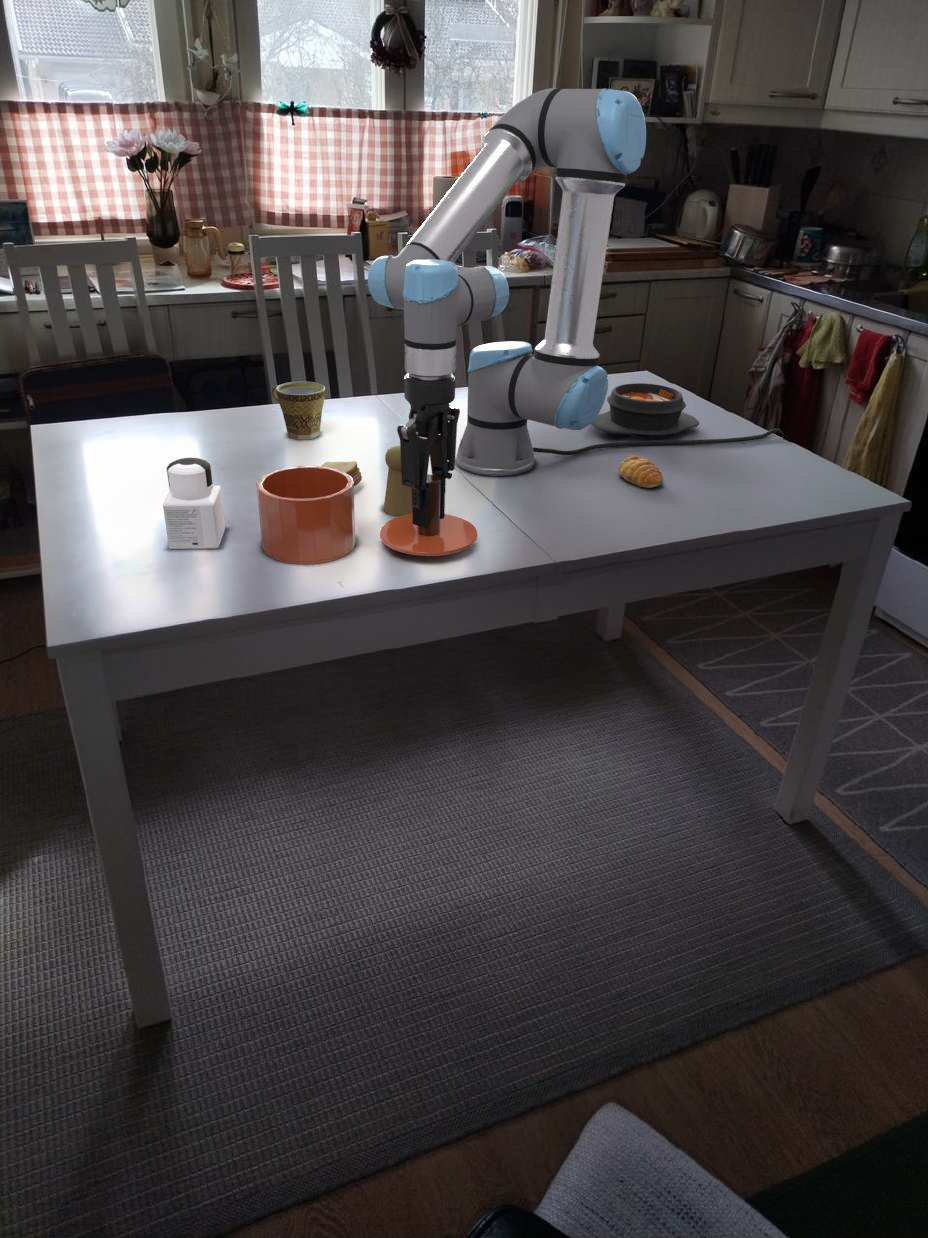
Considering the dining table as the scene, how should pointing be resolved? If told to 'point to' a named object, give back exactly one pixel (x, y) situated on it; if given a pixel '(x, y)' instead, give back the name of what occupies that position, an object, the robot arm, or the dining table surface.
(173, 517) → the container
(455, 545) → the lid
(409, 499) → the olive pawn figure
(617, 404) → the casserole
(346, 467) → the toy sandwich meal
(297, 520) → the pot
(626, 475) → the pastry
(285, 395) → the ceramic cup
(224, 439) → the dining table surface
